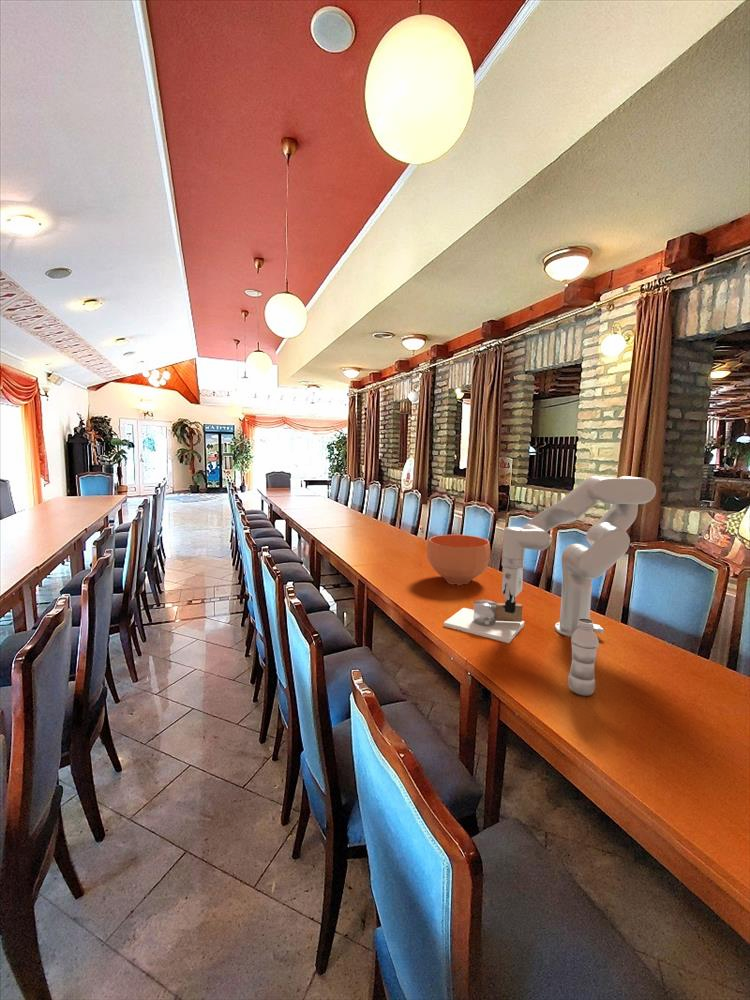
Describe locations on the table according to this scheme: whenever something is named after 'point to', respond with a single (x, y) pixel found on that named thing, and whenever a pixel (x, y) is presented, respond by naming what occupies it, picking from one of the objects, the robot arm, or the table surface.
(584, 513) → the robot arm
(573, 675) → the plastic bottle
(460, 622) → the base
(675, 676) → the table surface
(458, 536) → the bowl
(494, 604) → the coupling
